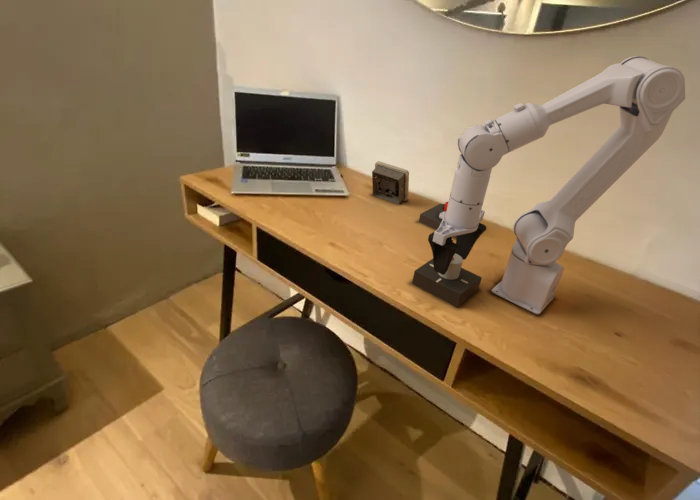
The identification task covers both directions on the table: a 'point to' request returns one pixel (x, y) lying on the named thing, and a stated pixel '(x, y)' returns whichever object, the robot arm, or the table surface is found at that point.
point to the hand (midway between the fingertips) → (450, 264)
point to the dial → (453, 268)
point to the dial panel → (446, 284)
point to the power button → (446, 206)
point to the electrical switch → (390, 182)
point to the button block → (433, 217)
